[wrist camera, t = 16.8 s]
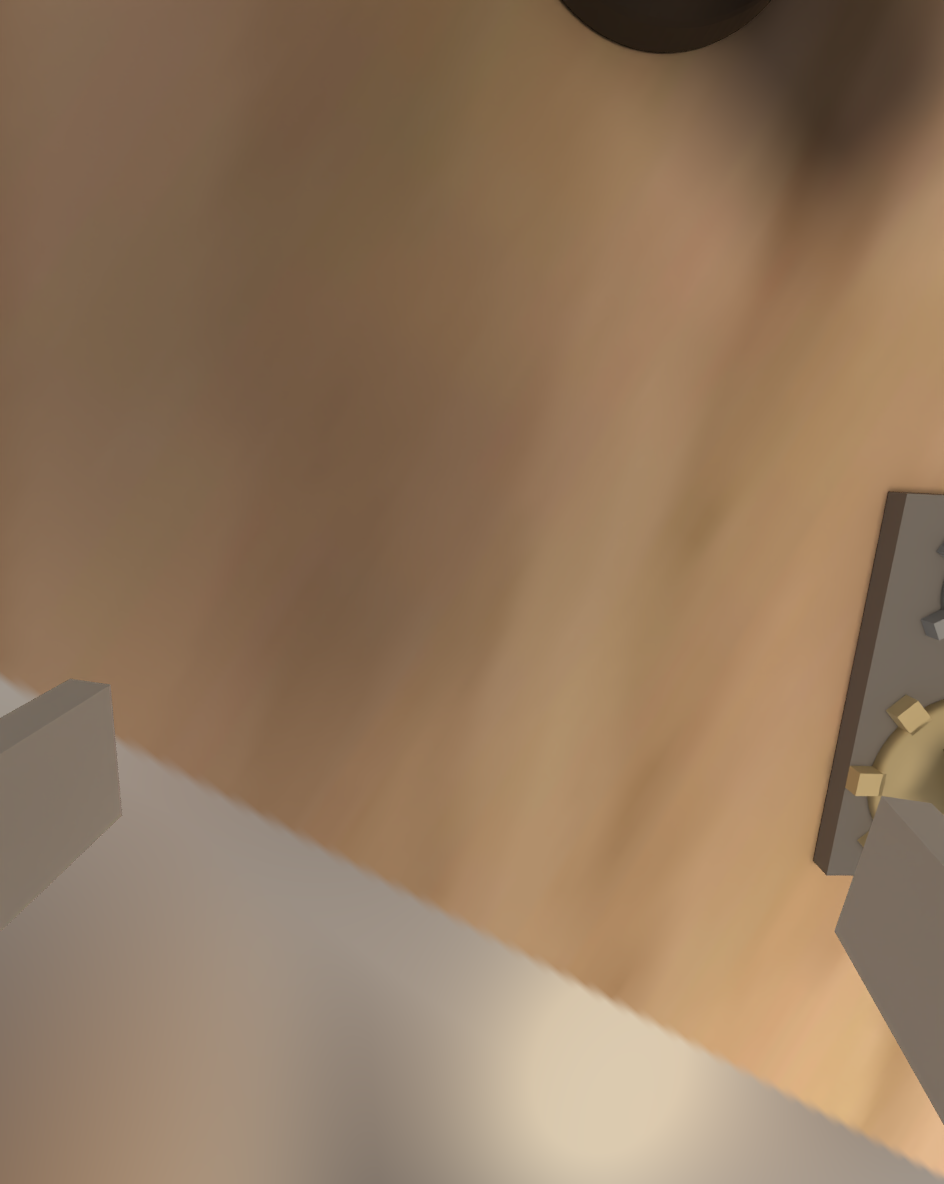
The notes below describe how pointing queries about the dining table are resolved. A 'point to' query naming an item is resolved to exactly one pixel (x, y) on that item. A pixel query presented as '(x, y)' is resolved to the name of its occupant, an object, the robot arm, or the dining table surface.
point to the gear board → (892, 685)
